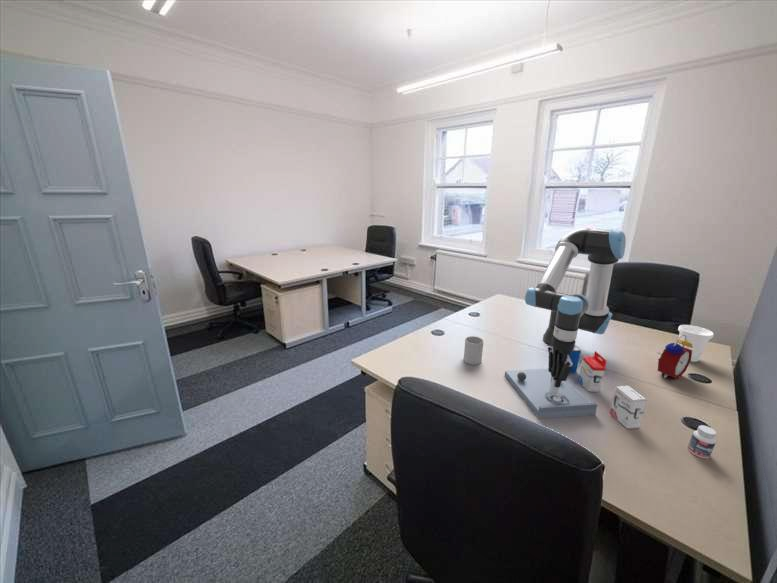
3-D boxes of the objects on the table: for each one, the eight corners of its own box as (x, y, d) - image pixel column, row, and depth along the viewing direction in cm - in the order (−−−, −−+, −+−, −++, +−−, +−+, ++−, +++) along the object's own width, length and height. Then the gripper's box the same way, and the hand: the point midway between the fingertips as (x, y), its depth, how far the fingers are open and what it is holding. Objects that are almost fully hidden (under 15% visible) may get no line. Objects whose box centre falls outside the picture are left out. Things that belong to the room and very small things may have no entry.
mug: (481, 366, 151) (483, 345, 147) (463, 363, 153) (464, 342, 149) (481, 354, 162) (483, 334, 158) (464, 351, 164) (465, 332, 160)
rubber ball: (523, 377, 137) (524, 370, 136) (527, 382, 134) (528, 374, 133) (515, 377, 137) (516, 370, 136) (519, 382, 134) (520, 375, 133)
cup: (703, 357, 159) (713, 329, 154) (703, 367, 150) (714, 338, 145) (671, 349, 167) (679, 322, 162) (669, 358, 158) (678, 330, 154)
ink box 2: (577, 380, 140) (583, 350, 136) (588, 380, 140) (595, 350, 135) (588, 392, 132) (595, 360, 127) (600, 392, 132) (607, 360, 127)
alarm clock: (670, 383, 138) (683, 341, 132) (647, 373, 145) (659, 333, 139) (686, 374, 145) (700, 334, 138) (664, 365, 152) (675, 326, 146)
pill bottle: (692, 456, 101) (700, 433, 98) (684, 444, 105) (692, 421, 102) (713, 461, 99) (722, 437, 96) (704, 448, 103) (713, 426, 101)
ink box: (608, 412, 120) (615, 385, 116) (620, 412, 120) (628, 384, 116) (626, 429, 112) (634, 400, 108) (640, 428, 112) (648, 399, 108)
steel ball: (561, 394, 124) (565, 402, 121) (557, 398, 126) (560, 406, 124) (552, 394, 124) (556, 403, 121) (548, 398, 126) (552, 407, 124)
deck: (504, 375, 143) (505, 366, 142) (551, 373, 145) (552, 364, 144) (539, 418, 117) (540, 408, 115) (595, 414, 119) (597, 404, 117)
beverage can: (574, 368, 149) (579, 345, 145) (577, 375, 143) (582, 351, 140) (559, 366, 151) (563, 343, 147) (561, 373, 145) (566, 349, 142)
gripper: (544, 330, 124) (535, 383, 131) (565, 346, 112) (554, 403, 119) (562, 329, 125) (552, 382, 132) (585, 345, 113) (573, 402, 120)
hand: (553, 392), depth 126 cm, fingers closed
